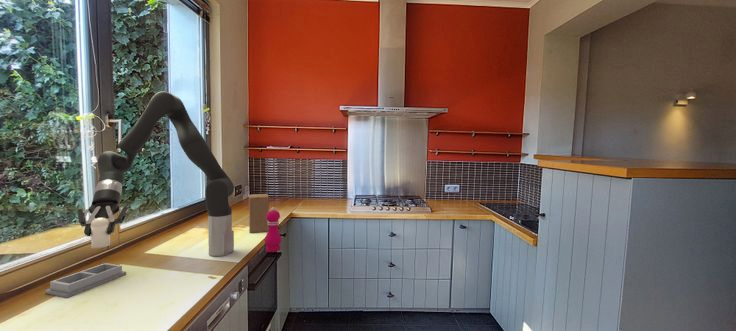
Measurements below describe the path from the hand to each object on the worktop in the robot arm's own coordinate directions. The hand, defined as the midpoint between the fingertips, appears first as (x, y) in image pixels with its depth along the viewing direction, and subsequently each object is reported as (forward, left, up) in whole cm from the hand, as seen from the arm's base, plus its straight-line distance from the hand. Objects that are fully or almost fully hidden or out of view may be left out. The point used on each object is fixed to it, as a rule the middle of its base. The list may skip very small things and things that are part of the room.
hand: (98, 234), depth 97 cm
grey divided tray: (+1, +3, -16) cm, 16 cm away
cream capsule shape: (+1, -1, -5) cm, 5 cm away
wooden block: (-15, -68, -16) cm, 72 cm away
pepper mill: (-40, -43, -16) cm, 61 cm away
